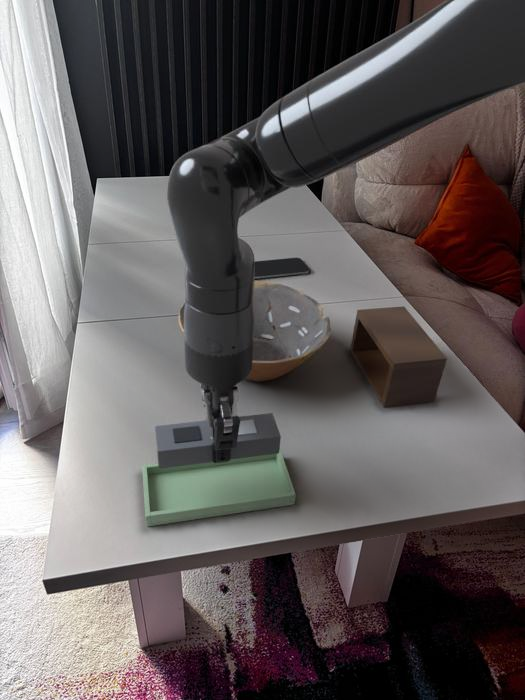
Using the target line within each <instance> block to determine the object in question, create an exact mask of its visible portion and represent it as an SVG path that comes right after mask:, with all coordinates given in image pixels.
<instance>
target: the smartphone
mask: <svg viewBox="0 0 525 700" xmlns="http://www.w3.org/2000/svg"><path fill="white" fill-rule="evenodd" d="M310 270H311V269H310V267H308V265H306V263H305V262H304V260H303V259H302V258H300V257H288V258H276V259H267V260H255V279H254V280H257V279H258V280H259V279H267V278H276V277H284V276H285V277H287V276H295V275H296V276H297V275H305V274H309V273H310Z"/></svg>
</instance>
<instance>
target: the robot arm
mask: <svg viewBox="0 0 525 700" xmlns="http://www.w3.org/2000/svg"><path fill="white" fill-rule="evenodd" d="M524 84H525V0H445V1H443V2H441V3H440V4H438V5H437V6H435V7H434V8H432V9H431V10H430V11H428V12H426V13H425V14H424V15H422V16H421V17H419V18H417V19H416V20H414V21H412V22H410V23H409V24H407V25H406V26H404V27H402V28H400V29H399V30H397V31H395V32H393V33H392V34H390V35H389V36H386V37H385V38H383V39H381V40H380V41H377V42H376V43H374V44H372V45H370V46H369V47H367V48H365V49H363V50H361V51H360V52H358V53H356V54H354V55H352V56H350V57H348V58H347V59H345V60H343V61H342V62H340V63H338V64H337V65H335V66H333V67H331V68H329V69H328V70H325V71H324V72H323V73H321V74H319V75H317V76H316V77H314V78H312V79H311V80H309V81H306V82H305V83H304V84H302V85H301V86H299V87H297V88H296V89H294V90H292V91H290V92H288V93H287V94H286V95H284V96H282V97H280V98H279V99H277V100H276V101H275V102H273V103H272V104H271V105H270V106H268V107H267V108H266V109H265V110H264V111H263V112H262V113H261V114H260V116H257V118H254V119H253V120H251V121H249V122H247V123H246V124H245V123H244V125H242V126H240V127H238V128H236V129H234V130H232V131H230V132H228V133H227V134H226V133H225V134H224V135H223V136H220V137H218V138H216V139H214V140H212V141H209V142H207V143H205V144H202V145H201V146H198V147H196V148H194V149H193V148H192V149H191V150H188V151H187V152H185V153H184V154H182V155H180V157H178V159H177V160H175V162H174V164H173V165H172V168H171V170H170V173H169V175H168V179H167V180H168V181H167V185H166V202H167V209H168V213H169V217H170V221H171V224H172V228H173V230H174V234H175V237H176V238H175V239H176V241H177V244H178V248H179V250H180V253H181V256H182V258H183V262H184V284H185V285H184V290H185V291H184V293H185V297H184V298H185V299H184V303H185V308H184V333H183V339H184V341H183V342H184V367H185V370H186V372H187V374H188V375H189V377H191V378H192V380H194V381H196V382H197V383H199V385H200V386H199V387H200V395H201V401H202V402H203V408H204V410H205V421H207V424H208V426H209V427H211V436H210V438H211V441H212V460H213V462H214V463H222V462H228V461H230V459H231V449H232V448H236V445H237V439H238V432H239V426H240V419H239V417H240V416H239V415H237V414H238V413H237V411H238V410H237V402H238V401H239V387H238V384H239V383H240V382H242V381H244V380H246V379H245V378H246V377H247V376H248V375H249V373H250V372H251V369H252V360H253V343H254V342H255V341H254V339H255V338H254V324H255V313H254V303H253V297H254V281H255V280H256V279H255V261H256V260H255V254H254V251H253V249H252V247H251V246H250V245H249V243H248V242H246V241H245V240H243V239H242V238H239V235H238V226H239V219H240V218H241V217H243V216H244V215H246V214H247V213H249V212H250V211H252V210H253V209H254V208H256V207H258V206H259V205H261V204H263V203H264V202H266V201H268V200H270V199H272V198H274V197H275V196H277V195H279V194H281V193H283V192H286V191H288V190H290V189H291V188H301V187H304V186H308V185H310V184H313V183H316V182H318V181H321V180H322V179H324V178H327V177H329V176H331V175H334V174H335V173H338V172H340V171H342V170H344V169H346V168H349V167H351V166H352V165H355V164H357V163H359V162H361V161H363V160H365V159H367V158H369V157H371V156H373V155H375V154H377V153H379V152H381V151H382V150H385V149H387V148H388V147H390V146H392V145H394V144H396V143H397V142H399V141H401V140H403V139H405V138H406V137H408V136H410V135H412V134H413V133H416V132H418V131H419V130H421V129H423V128H425V127H427V126H429V125H431V124H433V123H435V122H436V121H438V120H440V119H443V118H444V117H446V116H449V115H451V114H453V113H455V112H457V111H459V110H461V109H463V108H466V107H468V106H470V105H472V104H474V103H477V102H479V101H482V100H484V99H487V98H489V97H491V96H494V95H497V94H499V93H502V92H504V91H507V90H510V89H513V88H516V87H518V86H521V85H524Z"/></svg>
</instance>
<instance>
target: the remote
mask: <svg viewBox="0 0 525 700" xmlns="http://www.w3.org/2000/svg"><path fill="white" fill-rule="evenodd" d="M238 417H239V419H240V426H239V432H238V439H237V445H236V448H232V449H231V459H230V460H232V459H239V458H247V457H255V456H262V455H270V454H278V453H279V449H280V450H281V439H282V436H281V433H280V430H279V427H278V424H277V422H276V419H275V416H274V413H273V412H269V413H261V414H260V413H259V414H252V415H242V416H238ZM154 434H155V445H156V457H157V463H158V467H159V469H162V468H170V467H177V466H185V465H193V464H201V463H208V462H213V460H212V441H211V438H210V436H211V427H209V426H208V424H207V421H206V420H198V421H189V422H179V423H172V424H163V425H162V424H161V425H155V426H154Z"/></svg>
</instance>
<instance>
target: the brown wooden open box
mask: <svg viewBox="0 0 525 700" xmlns="http://www.w3.org/2000/svg"><path fill="white" fill-rule="evenodd" d="M349 352H350V354H351V355H352V357H353V359H354V361H355V362H356V364H357V365H358V367H359V369H360V371H361V372H362V374H363V376H364V377H365V379H366V380H367V382H368V384H369V385H370V387H371V389H372V391H373V392H374V394H375V396H376V397H377V399H378V401H379V402H380V404H381V406H382V407H383V408H393V407H394V408H395V407H401V406H410V405H419V404H428V403H434V402H435V400H436V396H437V393H438V390H439V387H440V383H441V380H442V377H443V373H444V371H445V367H446V363H447V361H448V357H446V355H445V354H444V353H443V351H442V350H441V349H440V348H439V346H437V344H436V343H435V342H434V341H433V339H432V338H431V337H430V336H429V335H428V333H427V332H426V331H425V330H424V328H423V327H422V326H421V325H420V324H419V322H418V321H417V320H416V319H415V318H414V316H413V315H412V314H411V312H409V310H408V309H407V308H406V307H405V306H403V305H401V306H391V307H389V306H388V307H378V308H365V309H364V308H362V309H357V310H356V315H355V321H354V326H353V332H352V338H351V343H350V348H349Z"/></svg>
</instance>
